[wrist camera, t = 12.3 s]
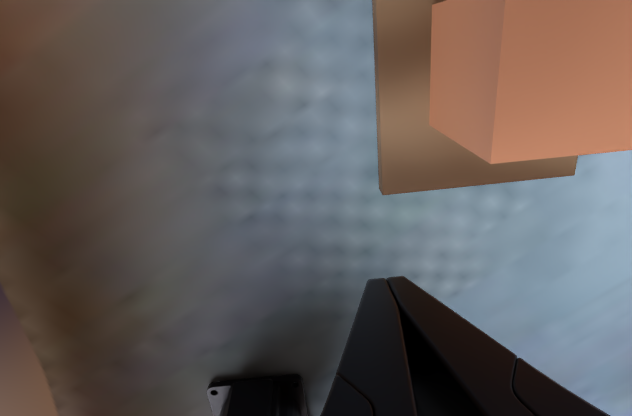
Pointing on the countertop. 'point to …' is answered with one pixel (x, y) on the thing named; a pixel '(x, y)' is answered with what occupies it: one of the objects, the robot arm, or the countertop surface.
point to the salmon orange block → (532, 77)
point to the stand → (426, 114)
